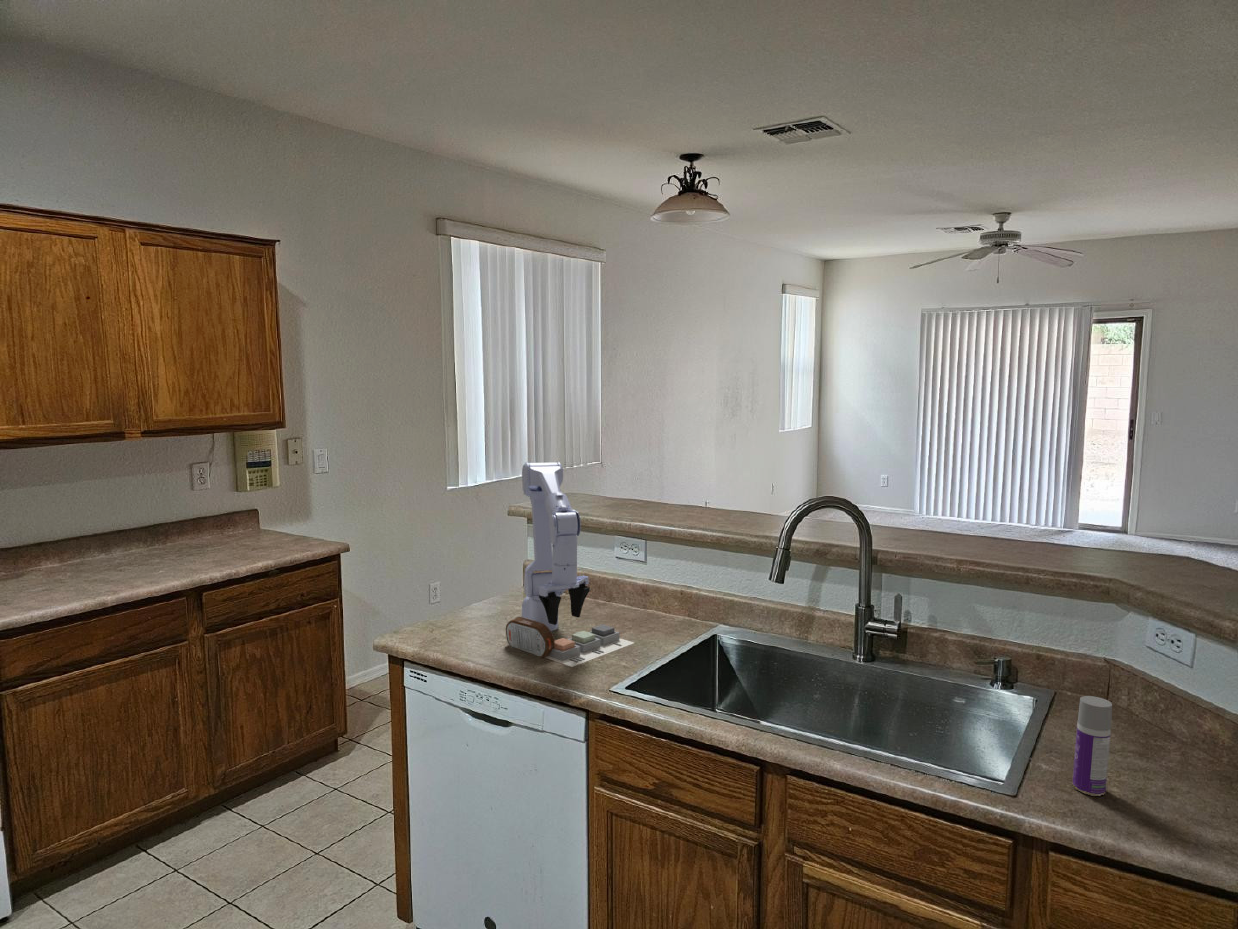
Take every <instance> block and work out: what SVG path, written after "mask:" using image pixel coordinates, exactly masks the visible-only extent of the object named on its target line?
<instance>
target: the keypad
mask: <svg viewBox="0 0 1238 929" xmlns="http://www.w3.org/2000/svg"><path fill="white" fill-rule="evenodd" d="M588 632H589V633H592V630H591V631H588ZM620 633H621V632H620V631H618V630H617V631H616V630H614V633H613V634H610V635H607V636H604V637H603V636H600V635H596V634H595V640H593V641H590V642H588V643H585V644H583V643H580V642H577V641H574V642H575V647H574V648H571V649H568V650H565V651H560V650H557V649H552V651H551V653H550V654H549V655H548V656H547V657H544V659H548V660H551V661H554V662H556V663H560V664H563V665H565V666H568V667H571V668H573V667H576V666H579V665H581V664H583V663H586V662H589V661H591V660H594V659H597V658H599V657H602V656H605V655H607V654H610V653H612V652H615V651H619V650H621V649H623V648H626V647H628V646H631V645H633V644H635V642H634V641H630V640H627V639H623V638H620ZM592 634H593V633H592ZM567 639H568V640H571V641H573V640H572V637H569V638H567Z"/></svg>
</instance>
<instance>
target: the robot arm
mask: <svg viewBox="0 0 1238 929" xmlns="http://www.w3.org/2000/svg"><path fill="white" fill-rule="evenodd" d="M521 470H522V471H521V482H522V491H523V495H524V496H526V497H529V500H530V503H531V517H532V518H531V519H532V534H533V535H532V538H533V553H534V555H533V556H534V559H533V561H531V562H530V563H529V564H528V565H527V566H526V567H525V569H524V578H523V588H524V594H525V597H524V598H523V601H522V604H521V617H523V618H526V619H530V620H533V621H537V622H541V623H543V624H545V625H546V626H547V627H548V628H549V629H550V631H551V632H553V631H555V630H556V631H557V630H558V628H559V608H560V604H561V600H562V597H561V596H562V595H563V594H564V593H565V591H566V590H568V594H569V599H570V614H571V617H575V618H580V617H581V613H582V609H583V606H584V603H585V600H586V598H587V596H588V594H589V593H590V589H591V588H590V587H589V586H588V585H590V577H589V576H587V575H578V537H579V536H580V534H581V530H582V529H581V527H582V525H581V523H582V522H581V516H580V513H579V511H577V510H576V509H573V508H572V505H571V502H570V500H569V499H568V498H569V497H568V496H567V495H566V493H564V492H562V491H561V486H562V483H563V481H564V468H563V465H562V463H560V461H556V462H553V461H552V462H524V464H523V465H522V468H521ZM542 571H545V572H542Z"/></svg>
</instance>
